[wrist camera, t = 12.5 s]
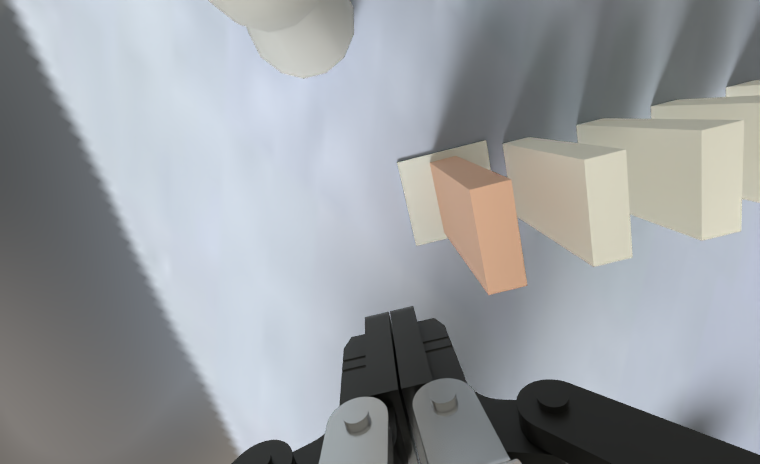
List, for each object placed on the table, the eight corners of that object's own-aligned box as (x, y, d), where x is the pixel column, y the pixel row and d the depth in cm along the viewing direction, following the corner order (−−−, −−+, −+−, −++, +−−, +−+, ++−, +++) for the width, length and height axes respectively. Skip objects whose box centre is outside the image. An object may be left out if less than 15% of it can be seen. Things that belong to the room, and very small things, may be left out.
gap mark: (416, 245, 28) (416, 246, 28) (396, 162, 26) (397, 162, 26) (498, 224, 28) (499, 225, 28) (485, 140, 26) (486, 140, 26)
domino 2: (512, 214, 28) (593, 266, 18) (502, 143, 26) (584, 159, 17) (538, 208, 28) (632, 257, 18) (528, 136, 26) (626, 149, 17)
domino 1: (444, 232, 27) (488, 295, 18) (429, 162, 26) (469, 190, 16) (469, 226, 27) (527, 285, 18) (456, 155, 26) (511, 179, 16)
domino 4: (653, 179, 27) (811, 214, 18) (650, 106, 26) (820, 100, 16) (679, 173, 27) (851, 204, 18) (677, 99, 26) (863, 90, 16)
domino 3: (582, 197, 27) (701, 240, 18) (576, 124, 26) (701, 130, 16) (608, 190, 27) (740, 231, 18) (602, 118, 26) (744, 119, 16)
